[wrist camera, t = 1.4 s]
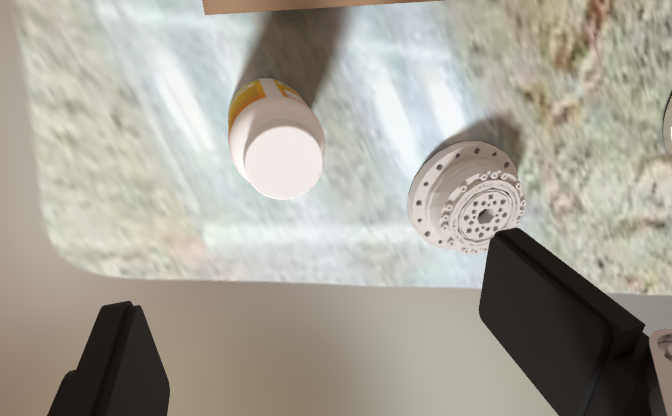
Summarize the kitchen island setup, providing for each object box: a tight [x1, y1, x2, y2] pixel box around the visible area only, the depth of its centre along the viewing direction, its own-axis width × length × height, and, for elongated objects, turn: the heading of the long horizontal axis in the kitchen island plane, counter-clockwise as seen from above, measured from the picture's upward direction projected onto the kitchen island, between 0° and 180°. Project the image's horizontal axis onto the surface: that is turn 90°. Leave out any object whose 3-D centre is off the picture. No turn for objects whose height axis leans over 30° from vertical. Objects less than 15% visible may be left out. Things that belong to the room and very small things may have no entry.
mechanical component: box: [407, 141, 527, 254], centre depth 34 cm, size 10×4×10 cm
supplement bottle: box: [228, 78, 325, 200], centre depth 24 cm, size 5×5×10 cm
